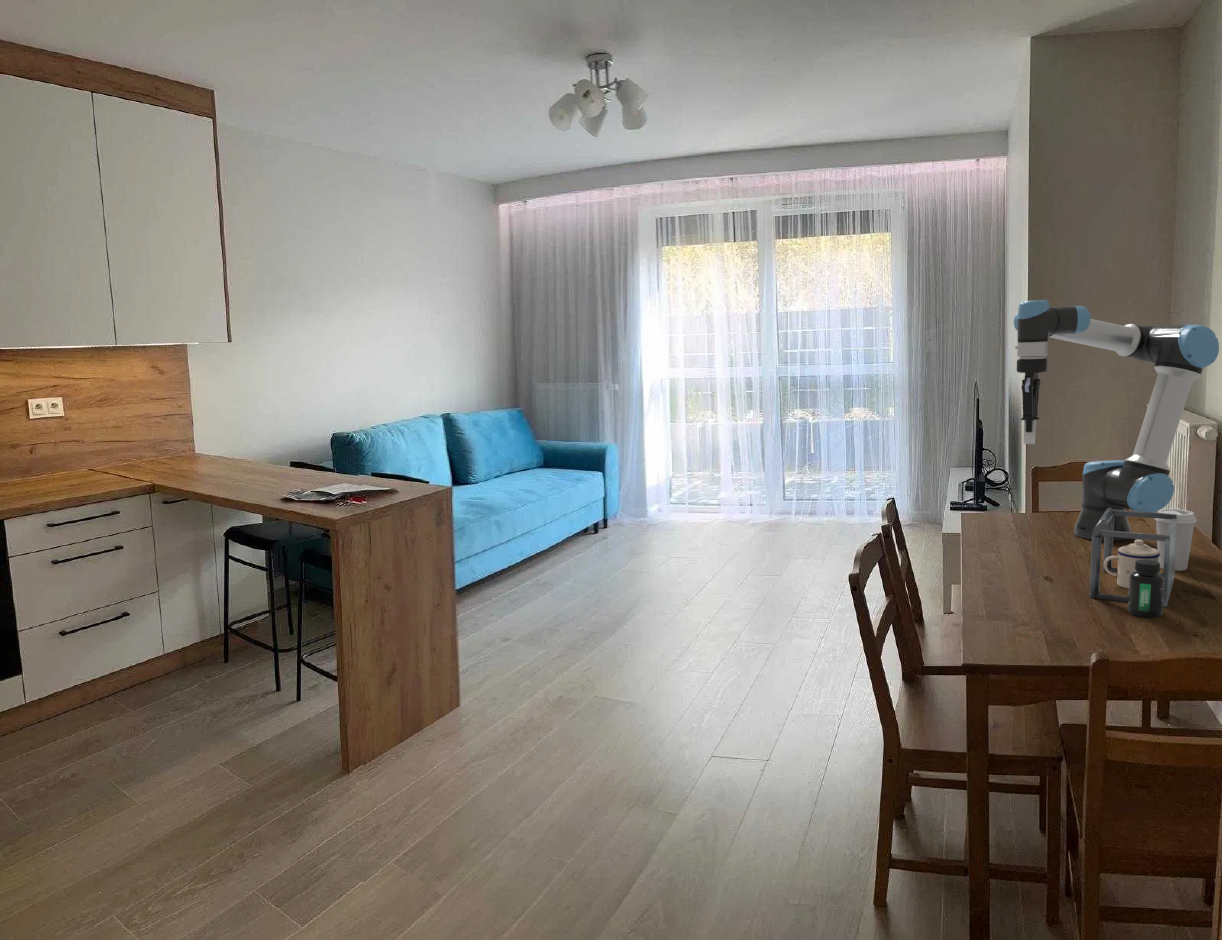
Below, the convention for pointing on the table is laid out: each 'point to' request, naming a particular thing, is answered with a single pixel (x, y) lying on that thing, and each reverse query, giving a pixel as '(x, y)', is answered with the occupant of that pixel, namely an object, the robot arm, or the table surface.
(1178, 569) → the coffee cup
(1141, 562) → the supplement bottle
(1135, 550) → the teacup with lid
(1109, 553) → the box
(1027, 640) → the table surface
